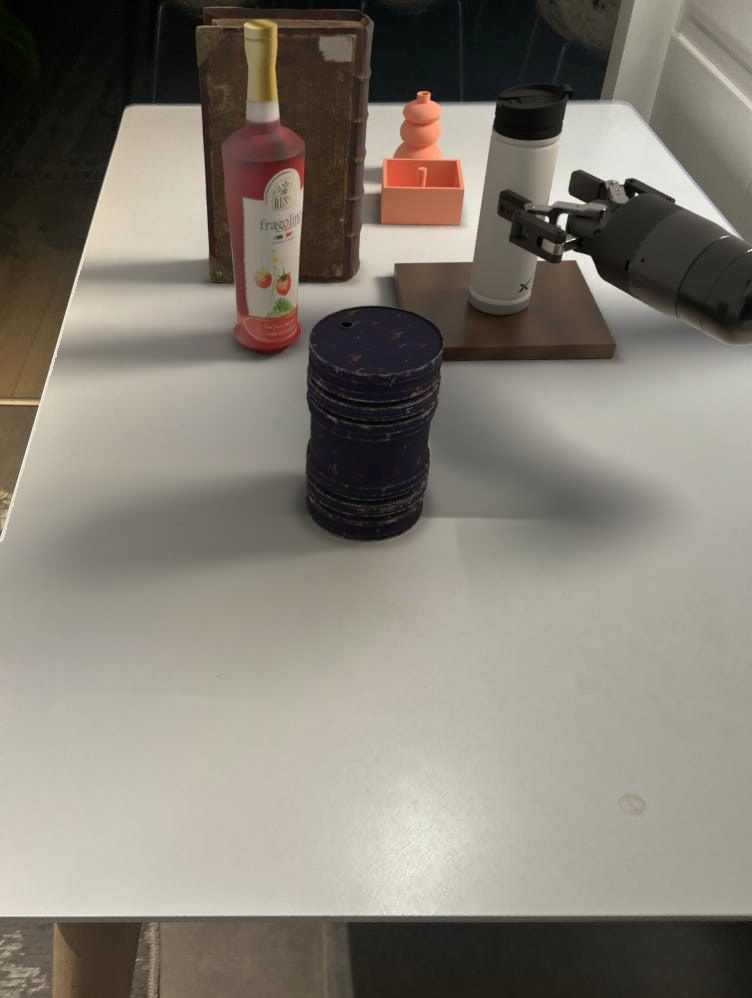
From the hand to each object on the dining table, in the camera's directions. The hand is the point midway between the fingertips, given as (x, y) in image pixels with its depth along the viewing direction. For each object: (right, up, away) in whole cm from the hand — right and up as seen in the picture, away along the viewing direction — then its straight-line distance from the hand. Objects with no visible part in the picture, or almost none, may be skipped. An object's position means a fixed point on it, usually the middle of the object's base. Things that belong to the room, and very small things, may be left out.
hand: (537, 190), depth 89 cm
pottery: (-6, +15, +33) cm, 36 cm away
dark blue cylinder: (-17, -31, -10) cm, 36 cm away
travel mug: (-1, -7, +10) cm, 12 cm away
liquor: (-25, -12, +8) cm, 29 cm away
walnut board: (-1, -8, +11) cm, 14 cm away
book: (-23, -1, +18) cm, 30 cm away
